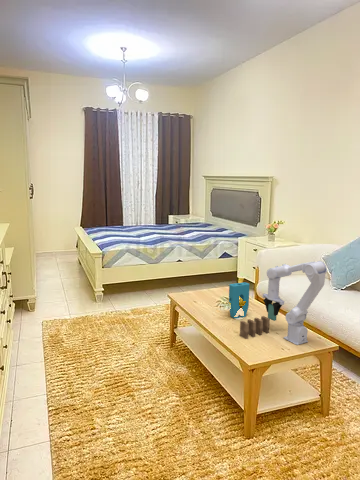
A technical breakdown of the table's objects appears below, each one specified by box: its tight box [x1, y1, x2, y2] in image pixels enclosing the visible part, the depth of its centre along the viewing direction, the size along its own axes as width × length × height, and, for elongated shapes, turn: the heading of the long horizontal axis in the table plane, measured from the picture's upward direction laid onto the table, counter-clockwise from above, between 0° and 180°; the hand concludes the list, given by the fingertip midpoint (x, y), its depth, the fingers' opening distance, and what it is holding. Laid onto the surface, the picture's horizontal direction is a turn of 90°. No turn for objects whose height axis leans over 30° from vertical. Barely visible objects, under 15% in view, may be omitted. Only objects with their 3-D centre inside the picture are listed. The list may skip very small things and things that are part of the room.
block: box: [228, 282, 251, 320], centre depth 220 cm, size 12×5×20 cm, turn 115°
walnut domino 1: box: [239, 320, 249, 340], centre depth 191 cm, size 5×2×8 cm, turn 29°
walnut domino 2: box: [246, 318, 257, 338], centre depth 194 cm, size 5×2×8 cm, turn 29°
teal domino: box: [267, 303, 278, 322], centre depth 200 cm, size 5×2×8 cm, turn 29°
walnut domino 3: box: [253, 317, 264, 336], centre depth 196 cm, size 5×2×8 cm, turn 29°
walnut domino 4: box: [260, 315, 271, 335], centre depth 198 cm, size 5×2×8 cm, turn 29°
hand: (272, 313), depth 200 cm, fingers closed on teal domino, 5 cm apart
